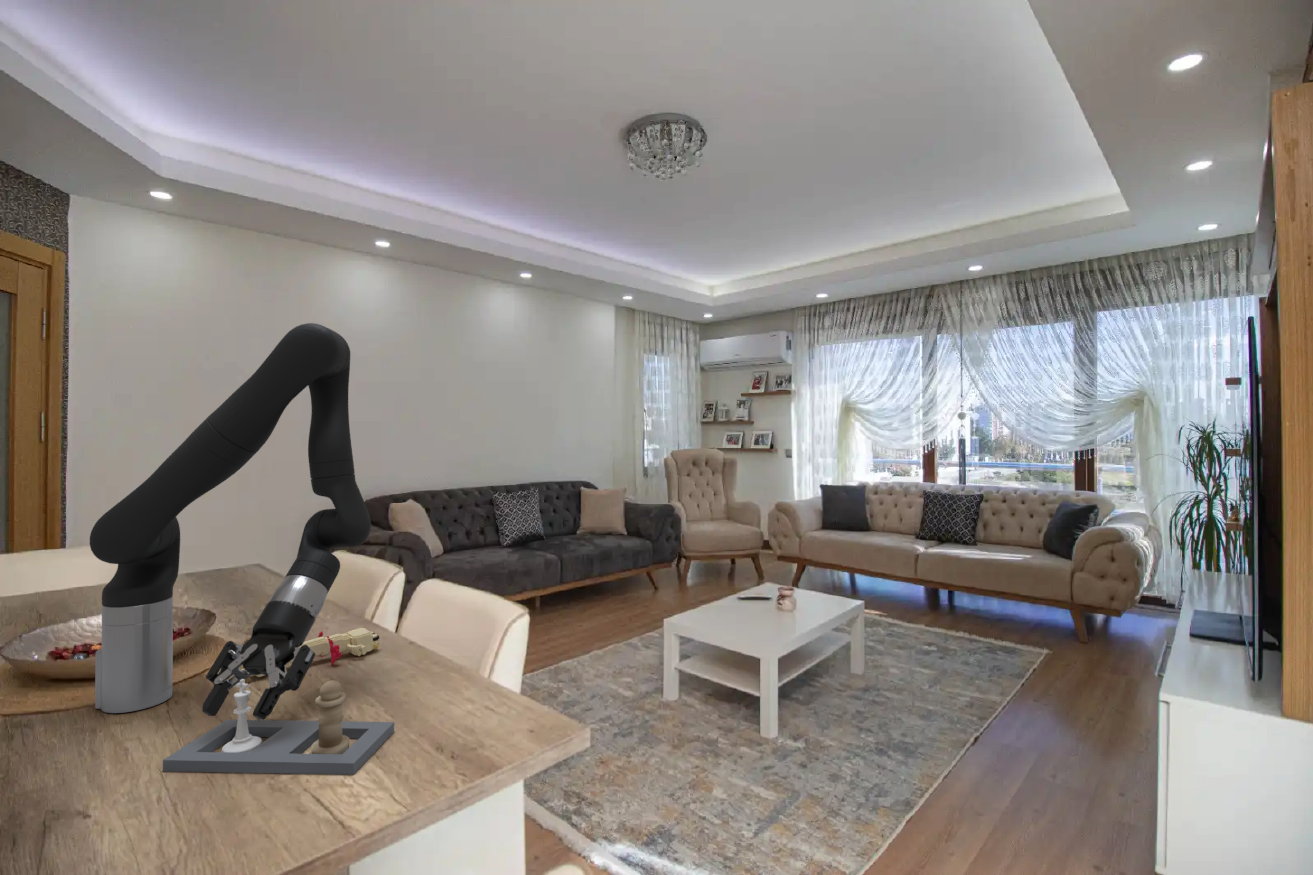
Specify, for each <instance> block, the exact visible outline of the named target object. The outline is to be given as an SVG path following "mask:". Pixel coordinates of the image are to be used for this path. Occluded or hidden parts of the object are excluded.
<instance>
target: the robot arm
mask: <svg viewBox="0 0 1313 875" xmlns="http://www.w3.org/2000/svg"><path fill="white" fill-rule="evenodd" d="M350 370H351V349H350V346H349V344H348V342H347V341H346V339H345V338H344V337H343V336H342V335H341V334H340V333H338V332H336V331H335V330H333V329H331V328H329V327H326V326H324V325H322V324H319V323H313V322H310V323H309V322H308V323H302V324H299V325H297V326H295V327H293V328H292V329H290V330H289V331H288V332H286V334H285V335H284V336H283V337H282V338H281V340H280V341H279V342H278V343H277V345H275V347H274V349H273V350H272V351H271V353H269V355H268V356H267V357H266V359H265V360H264V361H263V362H262V364H260V366H259V367H258V368H257V369H256V371H255V372H254V373H253V374H251V376H249V378H248V379H247V380H245V382H244V383H242V384H241V385H240V386H239V387H238V388H237V389H236V390H235V391H234V392H233V393H232V394H231V395H229V396H228V398H227V399H225V400H224V401H223V402H222V403H221V404H220V405H219V406H218V407H217V408H216V409H215V410H214V411H213V412H212V413H211V414H209V415H208V416H207V417H206V418H205V419H204V420H203V421H202V422H201V423H200V424H199V425H198V426H197V427H195V429H194V430H193V431H192V432H191V434H189V436H188V437H187V438H186V439H185V440H184V441H183V442H182V443H181V444H179V446H178V447H177V448H176V449H174V451H173V452H171V454H170V455H169V456H168V457H166V459H165V460H164V461H163V462H162V463H161V464H160V465H159V466H158V467H157V468H156V469H155V471H154V472H153V473H151V475H150V476H148V477H147V479H146V480H144V481H143V482H141V484H140V485H138V486H137V488H135V489H134V490H132V491H131V492H130V493H129V494H128V495H126V496H125V497H124V498H122V499H121V500H120V501H118V502H117V503H116V504H115V505H114V506H112V507H111V508H110V509H108V510H107V511H106V512H105V513H104V514H102V515H101V517H100V518H98V520H97V521H96V522H95V523H94V525H93V527H92V529H91V532H90V534H89V547H90V550H91V553H92V554H93V555H94V557H95V558H96V559H98V560H100V561H101V562H104V563H108V564H112V565H117V568H116V572H115V573H114V575H113V577H112V578H111V579H110V580H109V581H108V583H107V584H106V585H105V586H104V587H103V589H102V591H101V648H100V649H98V650H97V651H95V658H94V659H95V666H94V667H95V669H94V671H95V673H94V678H95V680H94V681H95V685H94V690H95V691H94V694H95V695H94V696H95V700H94V701H95V702H94V705H95V706H94V708H95V709H99V710H101V711H102V712H103V713H108V714H123V713H130V712H135V711H136V712H137V711H140V710H145V709H147V708H152V707H155V706H157V705H160V704H161V703H164V702H166V701H168V700H169V699H171V698H172V696H173V667H174V666H173V663H174V662H173V658H174V657H173V655H174V654H173V649H174V648H173V646H174V645H173V641H174V637H173V630H174V627H173V626H174V623H173V621H174V618H173V616H174V610H173V609H174V603H173V602H174V601H173V600H174V596H173V595H174V586H175V583H176V581H177V578H178V576H179V570H180V569H179V568H180V554H181V553H180V551H181V527H180V523H179V520H178V516H179V514H181V512H182V511H183V510H185V509H186V507H189V505H191V504H192V503H193V502H195V501H196V500H198V499H199V498H201V497H202V496H204V495H206V493H208V492H210V491H212V490H213V489H215V488H216V487H218V486H219V485H220V484H222V483H224V482H225V481H227V480H228V479H229V478H231V477H232V476H233V475H234V474H236V473H238V471H239V470H240V469H242V468H243V467H244V466H245V465H246V464H247V463H248V462H249V461H250V460H251V459H252V458H253V457H254V456H255V455H256V454H257V453H258V452H259V451H260V449H262V448H263V446H264V445H265V444H266V442H267V441H268V440H269V438H270V436H271V435H272V434H273V432H274V430H275V428H276V426H277V424H278V422H279V420H280V419H281V416H282V415H283V413H284V411H285V410H286V408H287V407H288V406H289V405H290V403H291V402H292V401H293V400H294V399H295V398H297V396H298V395H299V394H300V393H302V391H304V390H305V389H306V388H308V389H309V394H310V404H311V415H310V416H311V417H310V425H309V434H308V442H307V444H308V445H307V454H308V457H307V458H308V466H309V475H310V477H309V478H310V482H311V483H310V484H311V489H312V492H313V493H314V494H315V495H317V496H320V497H325V498H328V499H330V500H331V503H332V504H333V506H334V508H325V509H322V510H318V511H317V512H315V513H314V514H312V516H310V517H309V518H308V520H307V521H306V523H305V526H304V527H303V532H302V534H301V539H300V543H299V546H298V551H297V555H296V558H295V560H294V562H293V563H292V565H291V566H290V567H289V569H288V572H287V573H286V575H285V576H284V578H283V580H282V581H281V582H280V584H279V585H278V586H277V587H276V589H275V590H274V592H273V593H272V595H271V597H270V598H269V599H268V602H267V603H266V605H265V607H264V609H263V610H262V612H261V614H259V616H258V618H257V620H256V621H255V624H254V625H253V627H252V633H251V636H250V637H249V638H250V639H249V640H248V641H247V642H246V643H245V644H244V645H243V643H242V644H239V643H235V642H234V641H232V640H229V641H227V642H225V644H224V645H223V647H222V648H221V651H220V652H219V653H218V655H217V656H216V659H215V660H214V662H213V664H212V665H211V666H210V668H209V670H208V672H207V673H206V676H205V679H206V680H208V681H209V682H211V683H212V684H213V687H212V688H211V690H210V692H209V694H208V695H207V697H206V698H205V700H204V702H203V703H202V707H201V708H202V713H204V714H205V715H207V716H208V717H215V716H216V715H217V714H218V712H219V711H220V709H221V707H222V705H223V703H224V702H225V700H226V698H227V697H228V696H229V694H230V690H231V689H232V688H233V687H236V684H238V683H240V680H241V679H247V678H248V677H249V678H250V677H251V676H250V675H254V676H255V675H259V674H263V675H265V676H267V677H268V686H269V687H267V688H266V687H265V689H264V691H263V693H262V695H261V697H260V698H259V701H258V703H257V704H256V706H255V708H254V709H253V711H252V716H253V717H254V718H255V719H256V720H267V717H269V716H270V715H271V714H272V713H273V710H275V709H274V708H275V706H276V705H277V703H278V701H279V699H280V698H281V695H283V694H284V693H286V692H288V691H293V692H295V691H297V690H298V689H299V688H300V686H301V684H302V682H303V681H304V679H305V677H306V674H307V672H308V671H309V669H310V667H311V665H312V663H313V661H314V659H315V657H316V656H315V653H314V652H313V650H312V649H311V648H310V647H308V646H307V645H303V646H302V647H301V648H300V646H301V645H302V644H303V643H304V642H305V641H306V639H307V637H308V635H309V633H310V631H311V630H312V627H313V626H314V623H315V622H316V621H317V618H318V616H319V614H320V612H321V611H322V608H323V606H324V604H325V602H326V599H327V598H326V597H327V596H328V593H329V591H330V590H331V588H332V586H333V584H334V582H335V580H336V578H337V577H338V575H339V572H340V569H341V562H340V560H339V559H338V557H337V556H336V555H335V554H333V553H332V552H330V551H332V549H341V548H355V547H358V546H361V545H363V544H364V543H365V542H366V541H367V540H368V538H369V536H370V534H371V533H370V532H371V529H372V521H371V516H370V513H369V509H368V508H367V505H366V503H365V501H364V499H363V495H362V493H361V491H360V489H359V486H358V484H357V481H356V474H355V464H354V463H355V462H354V456H353V449H352V448H353V447H352V440H351V431H350V429H351V428H350V416H349V385H350V384H349V383H350ZM241 654H242V655H241ZM292 659H294V661H293V662H292V663H291V664H290V665H289V668H288V670H287V666H286V664H287V663H288V662H290V661H291V660H292ZM241 665H243V668H244V669H245V670H240V669H239V667H240V666H241Z"/></svg>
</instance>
